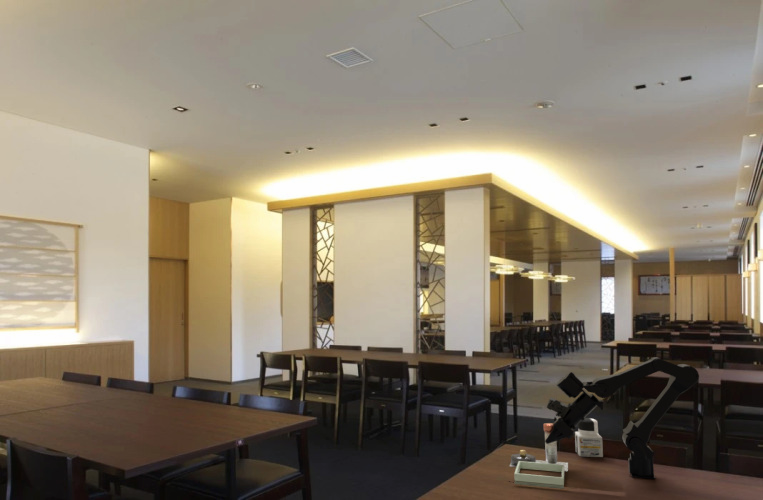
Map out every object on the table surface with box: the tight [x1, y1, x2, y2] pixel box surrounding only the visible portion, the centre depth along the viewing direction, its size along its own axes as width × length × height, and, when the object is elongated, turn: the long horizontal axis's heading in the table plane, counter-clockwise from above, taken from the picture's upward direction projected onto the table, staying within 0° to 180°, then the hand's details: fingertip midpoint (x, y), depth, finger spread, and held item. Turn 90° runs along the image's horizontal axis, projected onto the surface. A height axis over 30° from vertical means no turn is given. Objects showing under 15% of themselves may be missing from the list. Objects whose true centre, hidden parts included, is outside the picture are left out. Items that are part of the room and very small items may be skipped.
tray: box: [513, 461, 565, 490], centre depth 165 cm, size 14×14×3 cm
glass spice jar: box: [543, 422, 558, 464], centre depth 177 cm, size 4×4×12 cm
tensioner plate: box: [509, 449, 569, 472], centre depth 178 cm, size 18×10×5 cm, turn 71°
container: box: [574, 417, 604, 458], centre depth 191 cm, size 8×8×13 cm
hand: (546, 441), depth 177 cm, fingers closed on glass spice jar, 4 cm apart
